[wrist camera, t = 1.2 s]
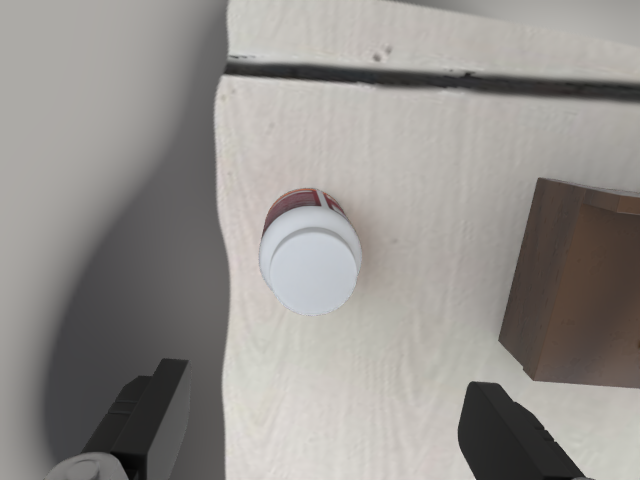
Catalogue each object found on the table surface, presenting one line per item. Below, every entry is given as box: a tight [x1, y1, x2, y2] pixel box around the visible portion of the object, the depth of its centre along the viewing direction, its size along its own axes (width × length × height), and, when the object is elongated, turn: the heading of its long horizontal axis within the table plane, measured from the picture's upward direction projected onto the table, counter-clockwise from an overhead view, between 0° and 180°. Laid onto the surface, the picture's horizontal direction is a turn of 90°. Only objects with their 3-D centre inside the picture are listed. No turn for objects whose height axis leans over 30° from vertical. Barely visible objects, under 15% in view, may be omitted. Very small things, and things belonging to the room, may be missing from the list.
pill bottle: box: [259, 188, 362, 316], centre depth 28 cm, size 6×6×11 cm
